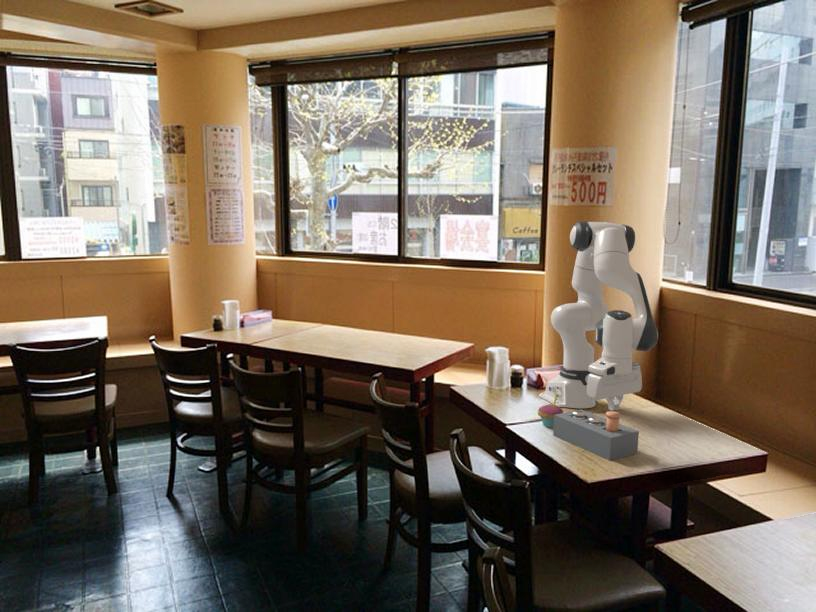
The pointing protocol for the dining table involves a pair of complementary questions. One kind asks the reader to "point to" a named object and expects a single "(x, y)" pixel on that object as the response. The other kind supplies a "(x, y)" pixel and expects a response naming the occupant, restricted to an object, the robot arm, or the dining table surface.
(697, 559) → the dining table surface
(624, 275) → the robot arm
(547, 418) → the cupcake
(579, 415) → the steel plug
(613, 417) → the terracotta plug
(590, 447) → the slate block
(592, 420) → the steel plug
